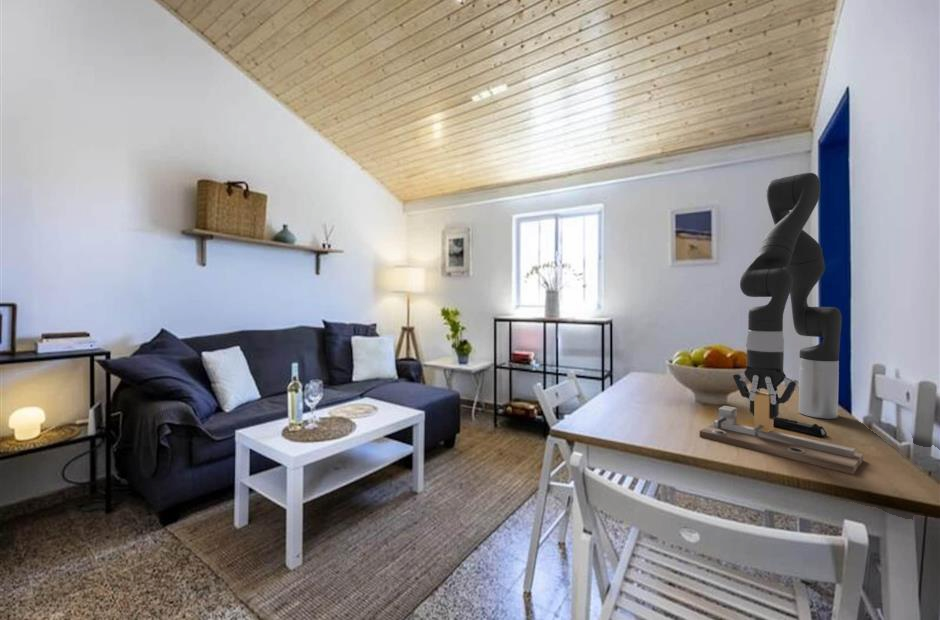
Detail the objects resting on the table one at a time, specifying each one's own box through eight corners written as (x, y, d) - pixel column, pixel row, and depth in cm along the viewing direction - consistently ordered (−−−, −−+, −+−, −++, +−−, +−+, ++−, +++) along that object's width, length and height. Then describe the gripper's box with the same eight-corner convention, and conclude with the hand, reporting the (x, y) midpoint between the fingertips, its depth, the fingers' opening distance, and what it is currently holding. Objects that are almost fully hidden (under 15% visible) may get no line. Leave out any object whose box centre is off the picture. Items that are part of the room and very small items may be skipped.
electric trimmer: (761, 422, 121) (761, 412, 121) (827, 436, 108) (827, 424, 108) (756, 424, 119) (756, 414, 119) (822, 439, 106) (822, 427, 106)
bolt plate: (716, 427, 115) (716, 402, 115) (862, 460, 92) (863, 429, 91) (699, 436, 108) (699, 410, 108) (853, 474, 85) (854, 440, 84)
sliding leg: (759, 428, 106) (759, 391, 105) (773, 431, 103) (773, 393, 103) (748, 435, 101) (749, 396, 100) (762, 438, 98) (763, 399, 98)
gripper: (804, 349, 99) (803, 420, 100) (738, 344, 110) (737, 408, 111) (795, 352, 95) (794, 426, 95) (727, 347, 106) (726, 413, 106)
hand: (763, 416), depth 103 cm, fingers closed on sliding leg, 3 cm apart
